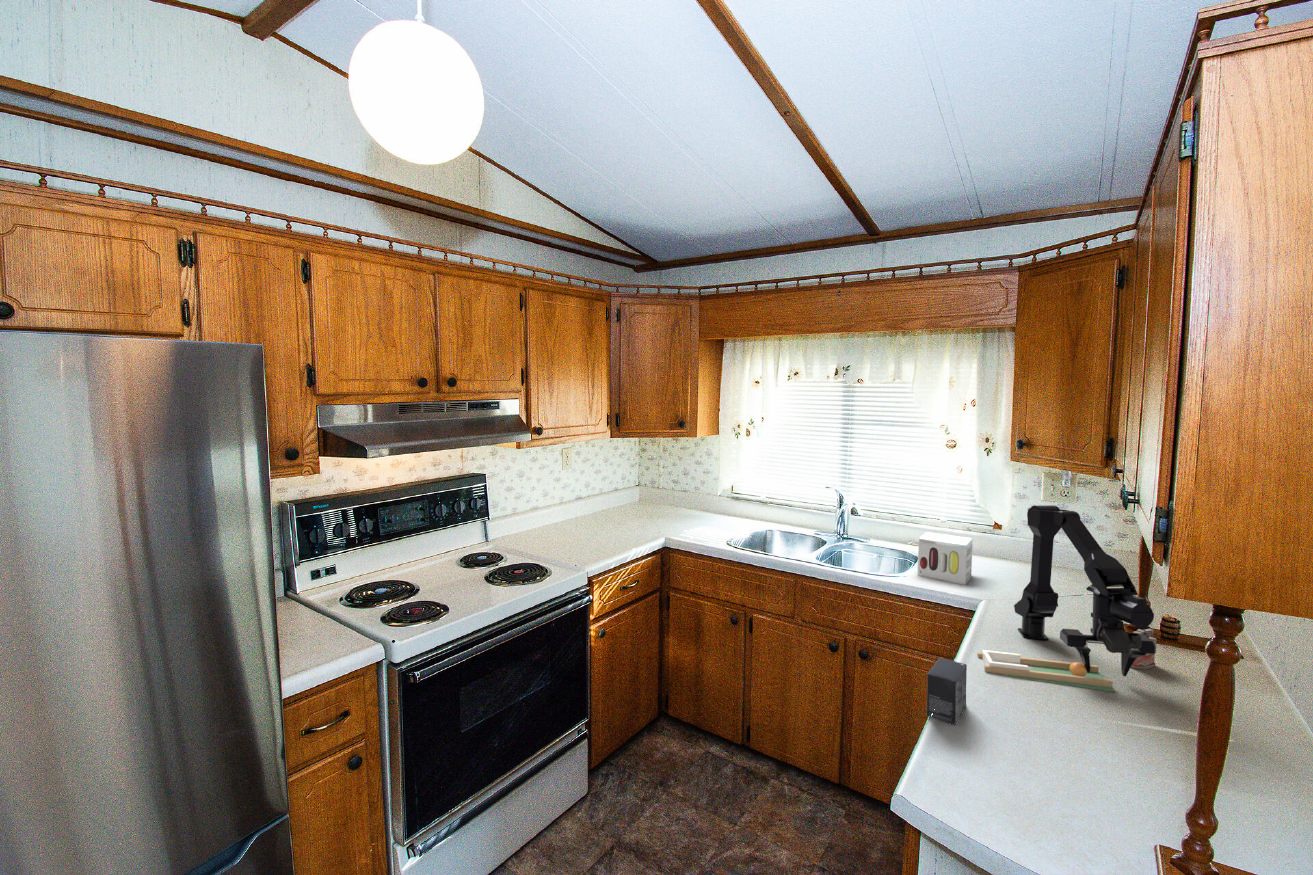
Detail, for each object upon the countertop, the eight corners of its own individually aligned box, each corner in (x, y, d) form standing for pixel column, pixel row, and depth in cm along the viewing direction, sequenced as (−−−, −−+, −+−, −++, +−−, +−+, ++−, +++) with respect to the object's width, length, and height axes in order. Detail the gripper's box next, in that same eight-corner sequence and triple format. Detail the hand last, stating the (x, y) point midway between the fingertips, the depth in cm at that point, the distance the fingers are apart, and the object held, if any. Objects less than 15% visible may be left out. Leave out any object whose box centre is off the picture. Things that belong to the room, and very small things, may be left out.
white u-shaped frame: (981, 658, 160) (982, 649, 159) (1019, 662, 157) (1019, 653, 157) (989, 671, 152) (989, 662, 152) (1028, 676, 149) (1028, 666, 149)
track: (976, 657, 161) (976, 650, 161) (1095, 671, 153) (1095, 663, 153) (986, 675, 151) (986, 668, 151) (1114, 691, 143) (1114, 683, 142)
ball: (1071, 673, 152) (1064, 661, 151) (1085, 669, 150) (1079, 657, 150) (1076, 681, 148) (1070, 670, 148) (1091, 677, 147) (1085, 665, 147)
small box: (936, 698, 140) (938, 656, 139) (966, 707, 136) (968, 663, 135) (924, 717, 132) (925, 672, 131) (956, 727, 128) (957, 681, 127)
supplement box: (916, 583, 226) (917, 537, 225) (924, 575, 237) (925, 531, 236) (965, 592, 216) (967, 544, 215) (972, 583, 226) (973, 537, 225)
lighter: (1136, 671, 153) (1138, 634, 153) (1123, 665, 156) (1125, 629, 156) (1158, 667, 155) (1160, 630, 155) (1145, 661, 159) (1147, 626, 158)
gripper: (1076, 620, 142) (1075, 683, 142) (1169, 627, 136) (1168, 693, 137) (1059, 606, 152) (1058, 664, 153) (1144, 612, 147) (1143, 672, 147)
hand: (1105, 673), depth 147 cm, fingers open, 7 cm apart
